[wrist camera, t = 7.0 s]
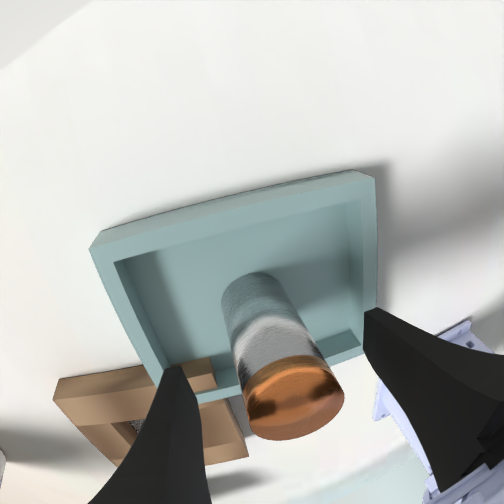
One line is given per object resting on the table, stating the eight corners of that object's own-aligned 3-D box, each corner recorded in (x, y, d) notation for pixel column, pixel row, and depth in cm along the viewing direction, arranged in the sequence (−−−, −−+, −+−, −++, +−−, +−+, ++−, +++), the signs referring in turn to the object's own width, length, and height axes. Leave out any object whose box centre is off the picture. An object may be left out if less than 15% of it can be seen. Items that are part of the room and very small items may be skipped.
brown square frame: (208, 350, 17) (211, 373, 15) (244, 438, 21) (249, 456, 19) (58, 379, 16) (52, 399, 14) (126, 457, 20) (126, 474, 18)
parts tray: (352, 169, 14) (374, 177, 12) (357, 330, 18) (372, 350, 17) (100, 231, 13) (88, 248, 11) (169, 384, 17) (170, 409, 15)
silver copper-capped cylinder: (288, 270, 15) (354, 371, 9) (281, 324, 16) (332, 430, 10) (221, 274, 14) (252, 389, 8) (221, 330, 16) (247, 446, 9)
